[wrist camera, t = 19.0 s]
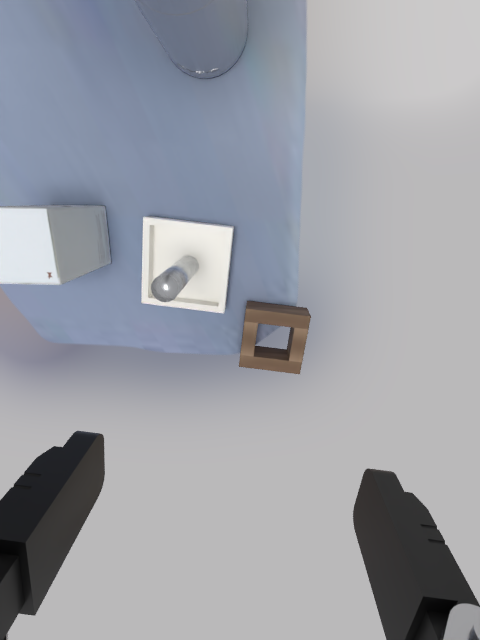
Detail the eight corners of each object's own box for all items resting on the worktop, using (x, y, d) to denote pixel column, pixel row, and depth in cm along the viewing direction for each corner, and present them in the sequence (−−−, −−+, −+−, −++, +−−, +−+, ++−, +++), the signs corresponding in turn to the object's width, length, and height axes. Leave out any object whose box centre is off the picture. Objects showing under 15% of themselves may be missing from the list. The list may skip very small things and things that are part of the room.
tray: (149, 215, 43) (143, 217, 41) (234, 226, 43) (232, 227, 41) (147, 297, 47) (141, 303, 45) (225, 307, 47) (224, 313, 45)
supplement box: (106, 204, 43) (49, 207, 31) (112, 264, 46) (61, 288, 34) (48, 203, 44) (-31, 205, 32) (57, 262, 46) (-14, 285, 34)
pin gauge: (178, 254, 44) (151, 273, 33) (199, 256, 44) (179, 277, 33) (177, 274, 45) (150, 300, 34) (197, 276, 45) (177, 303, 34)
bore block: (247, 300, 46) (246, 308, 43) (307, 308, 46) (310, 316, 43) (240, 355, 49) (238, 366, 46) (296, 362, 49) (299, 374, 46)
